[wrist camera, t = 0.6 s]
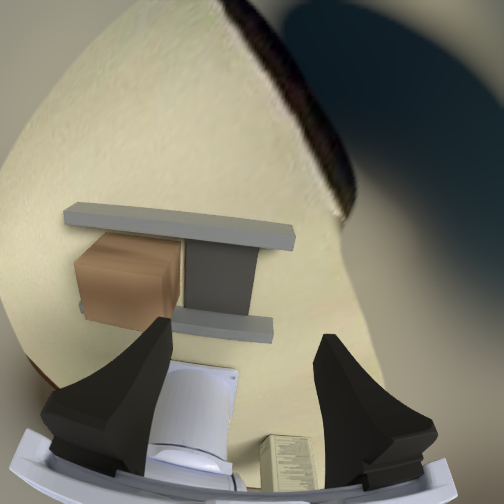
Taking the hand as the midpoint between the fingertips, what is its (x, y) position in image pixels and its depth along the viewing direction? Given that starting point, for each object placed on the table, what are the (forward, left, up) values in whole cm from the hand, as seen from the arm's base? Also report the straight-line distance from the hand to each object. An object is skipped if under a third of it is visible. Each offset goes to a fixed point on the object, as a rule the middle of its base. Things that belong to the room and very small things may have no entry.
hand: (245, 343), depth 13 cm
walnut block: (-1, +8, -9) cm, 12 cm away
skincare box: (-27, -9, -9) cm, 30 cm away
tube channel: (-1, +5, -9) cm, 10 cm away
